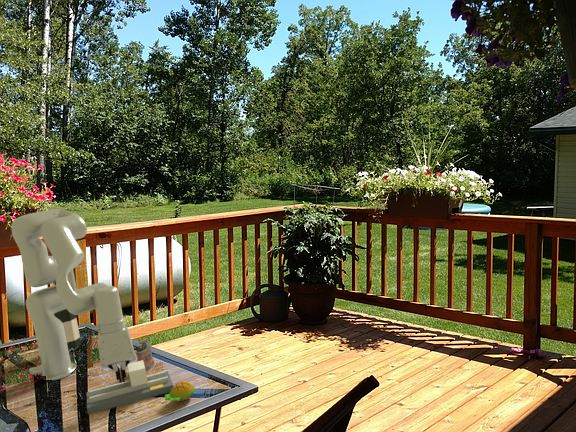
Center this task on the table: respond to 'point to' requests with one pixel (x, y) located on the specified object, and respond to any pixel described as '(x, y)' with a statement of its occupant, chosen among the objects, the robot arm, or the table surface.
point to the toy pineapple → (180, 391)
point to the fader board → (128, 392)
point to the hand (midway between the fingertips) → (122, 380)
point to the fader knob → (137, 373)
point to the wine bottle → (69, 327)
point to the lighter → (145, 354)
